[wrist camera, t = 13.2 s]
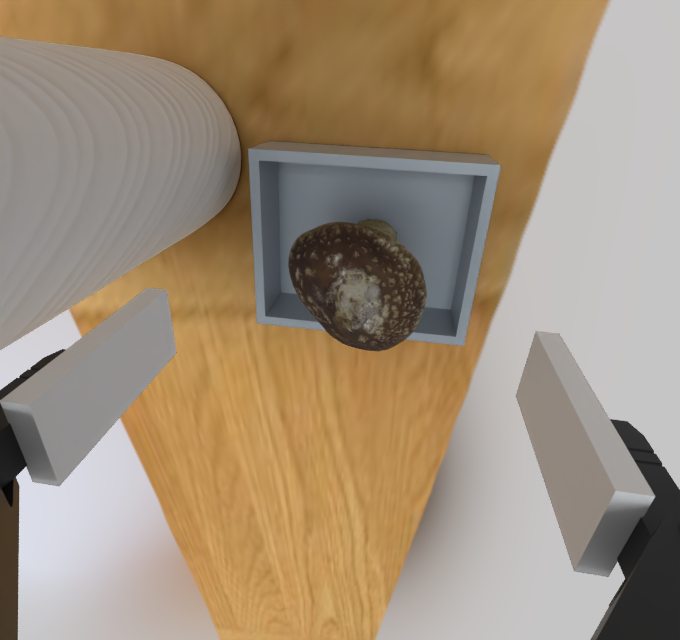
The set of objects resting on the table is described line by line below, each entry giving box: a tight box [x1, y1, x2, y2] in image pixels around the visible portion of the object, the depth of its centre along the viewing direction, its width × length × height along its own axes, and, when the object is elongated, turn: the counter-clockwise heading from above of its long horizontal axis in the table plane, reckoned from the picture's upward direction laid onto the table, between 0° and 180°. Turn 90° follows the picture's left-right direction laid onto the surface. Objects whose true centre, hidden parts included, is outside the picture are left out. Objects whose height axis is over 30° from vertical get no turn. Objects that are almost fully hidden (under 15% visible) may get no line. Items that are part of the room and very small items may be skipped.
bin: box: [248, 141, 501, 346], centre depth 38 cm, size 15×19×6 cm
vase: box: [0, 36, 241, 350], centre depth 26 cm, size 14×14×32 cm
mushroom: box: [288, 219, 427, 351], centre depth 34 cm, size 9×9×15 cm
